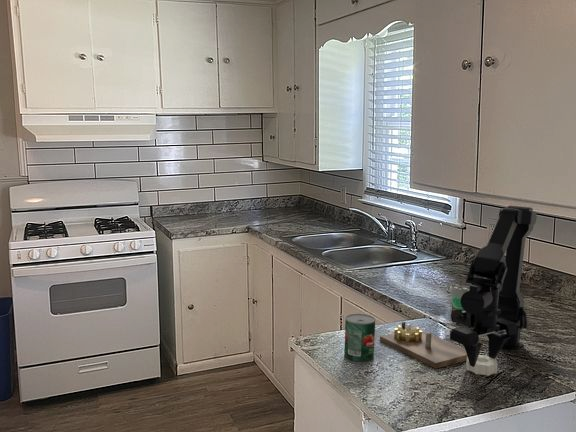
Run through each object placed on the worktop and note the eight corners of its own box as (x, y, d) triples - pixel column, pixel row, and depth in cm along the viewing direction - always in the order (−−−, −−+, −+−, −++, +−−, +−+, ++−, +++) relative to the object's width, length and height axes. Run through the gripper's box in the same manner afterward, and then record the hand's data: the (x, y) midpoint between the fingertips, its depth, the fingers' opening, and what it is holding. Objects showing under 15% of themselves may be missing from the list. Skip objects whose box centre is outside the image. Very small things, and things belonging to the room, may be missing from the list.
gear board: (416, 332, 177) (417, 315, 176) (473, 358, 159) (475, 338, 158) (379, 341, 170) (380, 322, 169) (435, 368, 152) (436, 348, 151)
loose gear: (479, 361, 157) (480, 352, 156) (502, 371, 150) (503, 362, 150) (460, 366, 153) (460, 357, 152) (482, 377, 147) (483, 368, 146)
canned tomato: (343, 352, 162) (344, 313, 160) (372, 352, 161) (373, 313, 160) (344, 363, 154) (346, 323, 152) (375, 364, 153) (377, 323, 152)
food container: (440, 315, 194) (442, 286, 192) (449, 311, 198) (451, 282, 196) (476, 324, 185) (478, 293, 184) (485, 320, 190) (487, 290, 188)
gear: (408, 331, 174) (409, 318, 173) (427, 339, 167) (427, 326, 167) (388, 336, 170) (389, 322, 169) (406, 344, 164) (407, 330, 163)
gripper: (485, 291, 161) (481, 346, 163) (435, 301, 151) (432, 359, 153) (520, 302, 151) (516, 360, 154) (469, 313, 142) (465, 375, 144)
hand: (481, 363), depth 151 cm, fingers closed on loose gear, 7 cm apart
